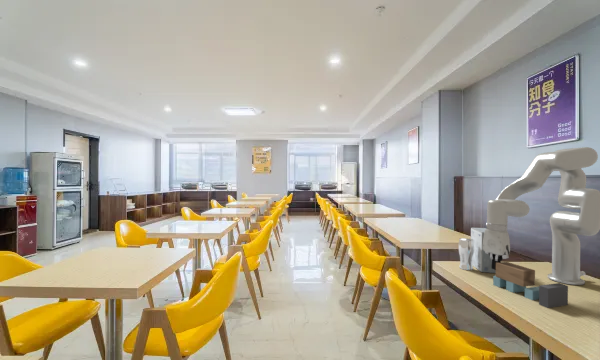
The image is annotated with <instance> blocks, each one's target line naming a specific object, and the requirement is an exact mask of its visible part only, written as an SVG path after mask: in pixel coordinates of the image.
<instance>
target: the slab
mask: <svg viewBox="0 0 600 360" xmlns="http://www.w3.org/2000/svg"><path fill="white" fill-rule="evenodd" d="M495 276H496V277H498V278H501V279H504V280H506V281H509V282H512V283H515V284H517V285H520V286H523V287H525V286H526V287H534V286H536V270H535V269H532V268H529V267H525V266H522V265H519V264H515V263H511V262H508V261H501V262H499V263H496V273H495Z"/></svg>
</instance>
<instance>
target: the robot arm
mask: <svg viewBox="0 0 600 360" xmlns="http://www.w3.org/2000/svg"><path fill="white" fill-rule="evenodd" d="M598 158H599V155H598V152H597V151H596V150H595V149H594V148H592V147H587V146H586V147H585V146H582V147H574V148H573V147H572V148H561V149H558V150H555V151H548V152H541V153H539V154H537V155H536V156H535V157H534V158H533V159H532V161H531V162H530V164H528V166H527V168H526V170H525V171H524V172H523V174H522V175H521V177H519V178H518V179H516V180H514V181H513V182H511V183H510V184H508V186H506V187H504V189H502V191H501V192H500V193H499V194H498V195H497V197H496V199H490V200H488V201H487V210H486V211H487V213H486V224H485V226H486V229H485V232H484V237H483V250H484V251H485V253H487V254H489V256H490V259H491V260H492V269H494V270H496V263H499V262H503V260H504V259H505V260H506V259H509V258H510V257H509V255H510V253H511V242H510V241H511V240H510V235H509V232H508V217H514V218H524V217H526V216H528V214H529V213H530V205H529V204H528V203H527V202H525V201H523V200H520V199H519V200H518V199H517V198H519V197H521V196H523V195H525V194H528V193H531V192H534V191H537V190H540V189H542V187H543V186H544V184H545V183H546V181H547V180H548V179H549V177H550V176H551V174H553V172H559V174H560V185H559V190H558V195H557V203H558V205H559V206H560V207H563V208H565V209H572V210H580V212H576V211H570V210H559V211H554V212H553V213H552V214H551V215H550V217H549V225H550V229H551V237H552V241H551V243H552V244H551V249H552V250H551V272H550V273H548V274H547V278H548V280H551V281H554V282H557V283H560V284H564V285H573V286H581V285H585V283H586V282H585V280H584V279H583V278H581V277H583V276H586V272H585V271H583V270H582V271H581V240H580V238H579V237H578V235H579V236H586V237H587V236H588V237H592V236H596V235H597V234H598V233H599V231H600V190H598V189H595V188H589V187H588V188H586V186H587V176H586V173H585V172H584V170H583V169H584V168H590V167H591V166H593V165H595V164H596V163H597V162H598V161H597V160H598Z"/></svg>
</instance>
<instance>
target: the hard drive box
mask: <svg viewBox="0 0 600 360" xmlns="http://www.w3.org/2000/svg"><path fill="white" fill-rule="evenodd" d="M485 229H487V227H471V228H470V239H473V240H474V254H473V259H472V266H473V268H475V269H477V270H478V271H479V272H481V273H490V274H496V270H494V269H492V260H491V259H490V256H489V254H487V253H485V251H484V250H483V237H484V232H485Z"/></svg>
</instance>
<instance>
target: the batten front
mask: <svg viewBox="0 0 600 360" xmlns="http://www.w3.org/2000/svg"><path fill="white" fill-rule="evenodd" d="M505 288H506V289H505V290H506V291H507V290H508V292H510V293H512V292H513V294H514V293H515V292H516V293H522V292H523V293H524V292H525V288H527V286H525V287H523V286H520V285H517V284H515V283H512V282H509V281H506V287H505Z"/></svg>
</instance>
